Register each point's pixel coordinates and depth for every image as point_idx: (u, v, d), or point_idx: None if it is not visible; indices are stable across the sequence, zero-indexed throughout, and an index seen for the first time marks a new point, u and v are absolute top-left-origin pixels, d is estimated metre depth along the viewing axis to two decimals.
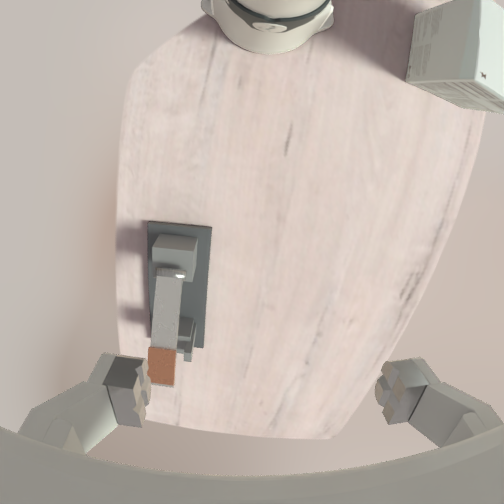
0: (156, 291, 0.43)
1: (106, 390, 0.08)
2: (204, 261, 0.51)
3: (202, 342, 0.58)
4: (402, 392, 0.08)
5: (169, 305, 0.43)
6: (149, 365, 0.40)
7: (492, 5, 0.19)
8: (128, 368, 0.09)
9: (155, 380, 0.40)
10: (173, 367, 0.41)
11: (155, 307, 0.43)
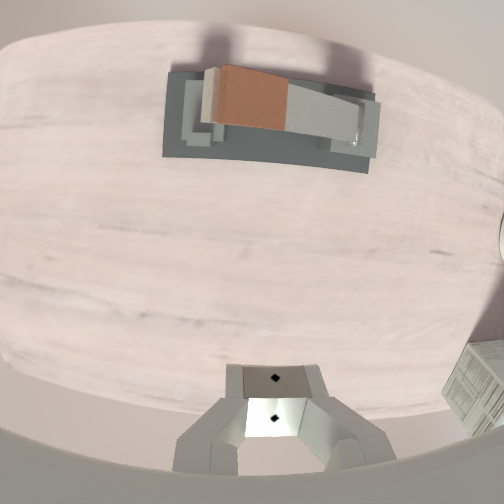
0: (345, 103, 0.25)
1: (248, 403, 0.08)
2: (324, 162, 0.35)
3: (174, 155, 0.34)
4: (277, 402, 0.08)
5: (332, 122, 0.25)
6: (259, 75, 0.18)
7: None
8: (263, 377, 0.09)
9: (231, 83, 0.17)
10: (258, 124, 0.20)
11: (329, 98, 0.24)
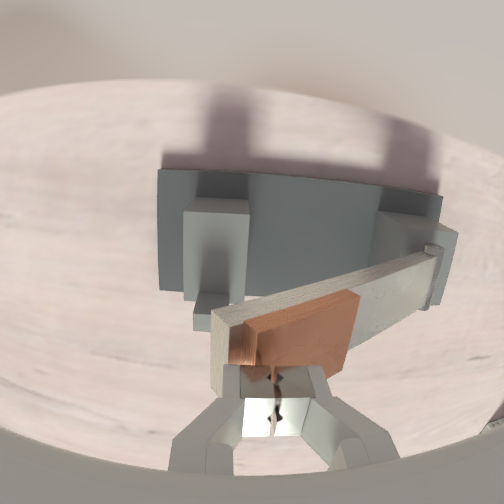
0: (424, 264, 0.17)
1: (244, 403, 0.08)
2: None
3: (176, 289, 0.26)
4: (280, 402, 0.08)
5: (403, 302, 0.17)
6: (314, 319, 0.11)
7: None
8: (259, 377, 0.09)
9: (264, 360, 0.10)
10: None
11: (407, 272, 0.16)
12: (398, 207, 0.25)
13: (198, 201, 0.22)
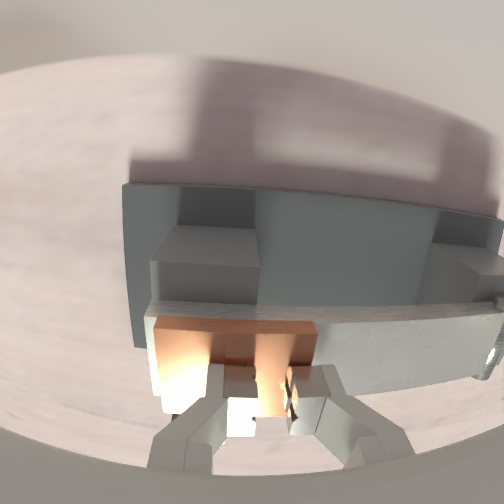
0: (478, 319, 0.11)
1: (227, 403, 0.08)
2: None
3: None
4: (296, 402, 0.08)
5: (436, 362, 0.12)
6: (233, 340, 0.09)
7: None
8: (244, 377, 0.09)
9: (167, 360, 0.10)
10: None
11: (442, 324, 0.11)
12: (456, 237, 0.17)
13: (179, 234, 0.15)
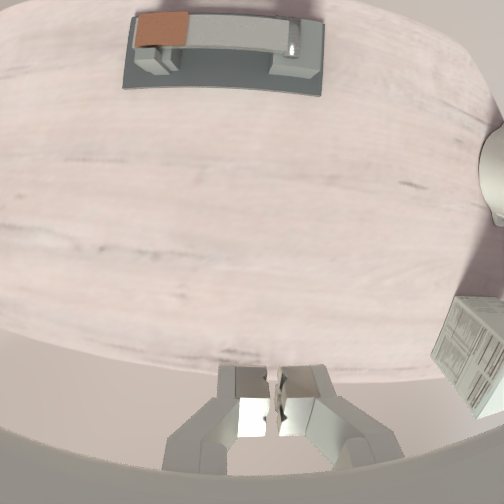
0: (267, 19, 0.25)
1: (239, 403, 0.08)
2: (275, 85, 0.34)
3: (133, 86, 0.33)
4: (285, 402, 0.08)
5: (249, 35, 0.26)
6: (162, 14, 0.24)
7: None
8: (255, 377, 0.09)
9: (141, 23, 0.24)
10: (160, 43, 0.25)
11: (245, 18, 0.25)
12: None
13: None
